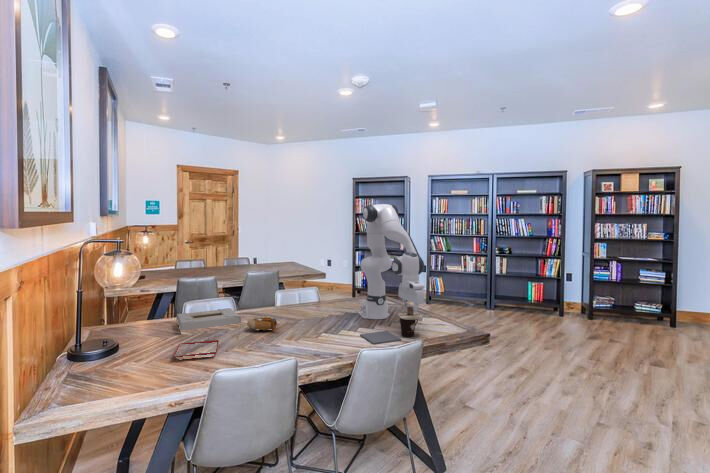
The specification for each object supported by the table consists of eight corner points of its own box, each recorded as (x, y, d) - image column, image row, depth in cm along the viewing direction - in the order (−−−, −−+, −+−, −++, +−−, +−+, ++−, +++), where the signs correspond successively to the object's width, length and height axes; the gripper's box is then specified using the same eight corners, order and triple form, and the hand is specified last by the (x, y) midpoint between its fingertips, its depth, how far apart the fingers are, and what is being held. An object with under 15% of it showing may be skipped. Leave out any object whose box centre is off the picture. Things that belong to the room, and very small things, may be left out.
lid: (393, 315, 211) (393, 306, 211) (413, 312, 216) (413, 303, 216) (406, 320, 199) (406, 311, 199) (427, 318, 205) (427, 308, 204)
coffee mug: (403, 338, 202) (403, 319, 202) (397, 333, 211) (397, 315, 210) (423, 336, 205) (423, 317, 205) (416, 332, 214) (417, 314, 213)
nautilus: (288, 332, 214) (265, 340, 203) (265, 323, 229) (243, 330, 218) (288, 319, 213) (265, 325, 202) (265, 310, 228) (242, 316, 217)
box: (180, 336, 208) (241, 327, 224) (180, 322, 207) (241, 314, 223) (175, 326, 228) (231, 319, 244) (175, 313, 227) (231, 306, 243)
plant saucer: (173, 363, 169) (172, 355, 169) (179, 349, 186) (178, 343, 186) (217, 359, 174) (217, 351, 174) (219, 346, 191) (219, 339, 191)
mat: (359, 335, 207) (359, 334, 207) (386, 332, 214) (386, 330, 214) (373, 344, 193) (373, 343, 193) (401, 340, 199) (401, 339, 199)
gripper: (395, 280, 215) (395, 305, 216) (415, 286, 196) (415, 313, 197) (405, 280, 218) (405, 304, 218) (426, 285, 199) (426, 312, 199)
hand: (410, 309), depth 207 cm, fingers open, 8 cm apart
